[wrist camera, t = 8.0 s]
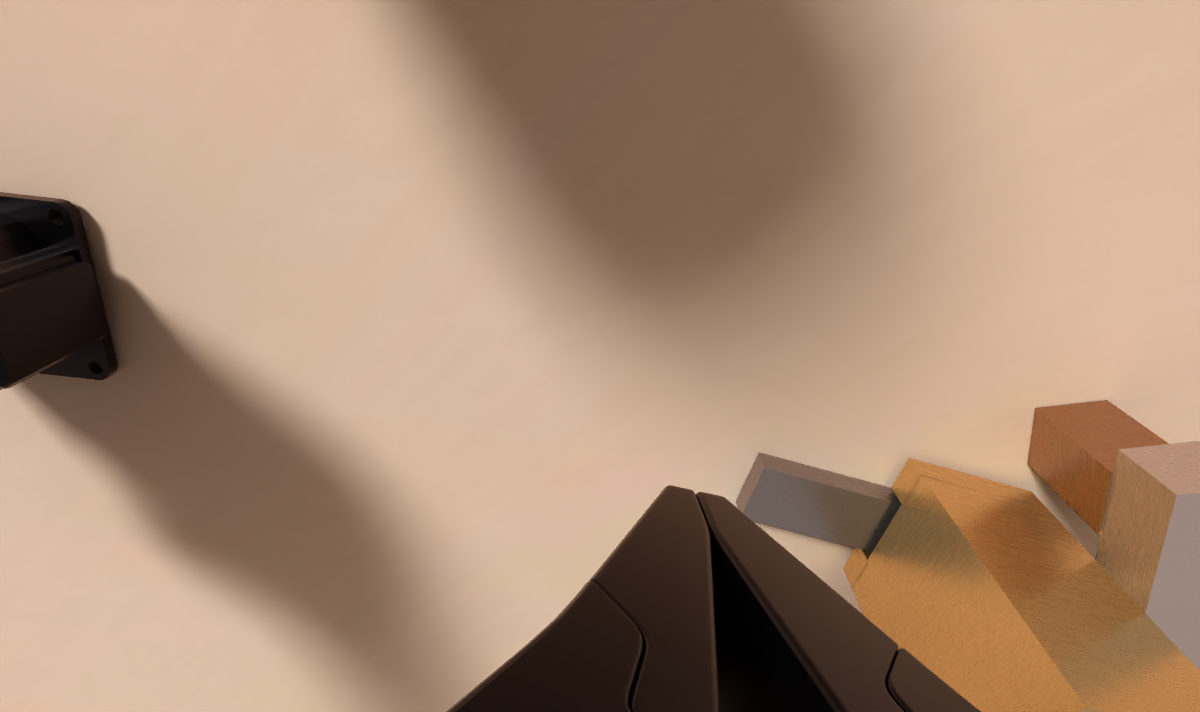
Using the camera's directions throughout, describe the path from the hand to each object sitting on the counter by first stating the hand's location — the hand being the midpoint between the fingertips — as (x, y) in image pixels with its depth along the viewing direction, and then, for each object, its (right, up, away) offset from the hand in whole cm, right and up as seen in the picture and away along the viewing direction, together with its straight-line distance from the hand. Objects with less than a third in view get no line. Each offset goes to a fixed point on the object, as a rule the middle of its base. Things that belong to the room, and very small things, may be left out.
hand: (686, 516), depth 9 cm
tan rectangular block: (+12, -4, +16) cm, 20 cm away
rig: (+12, -1, +15) cm, 19 cm away
